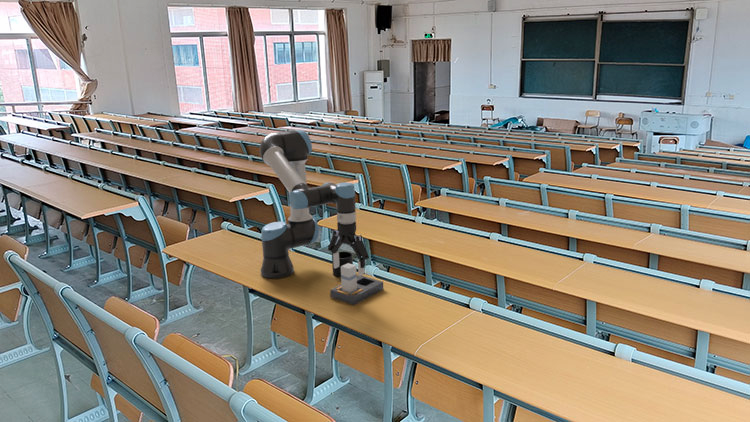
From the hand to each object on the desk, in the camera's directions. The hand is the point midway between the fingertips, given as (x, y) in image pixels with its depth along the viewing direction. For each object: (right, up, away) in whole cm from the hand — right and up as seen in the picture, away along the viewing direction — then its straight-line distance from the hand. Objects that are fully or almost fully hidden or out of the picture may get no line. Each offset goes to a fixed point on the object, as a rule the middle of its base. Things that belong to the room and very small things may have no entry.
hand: (348, 271), depth 226 cm
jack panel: (+3, -10, +7) cm, 13 cm away
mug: (-3, -5, +27) cm, 28 cm away
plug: (0, -11, +3) cm, 12 cm away
